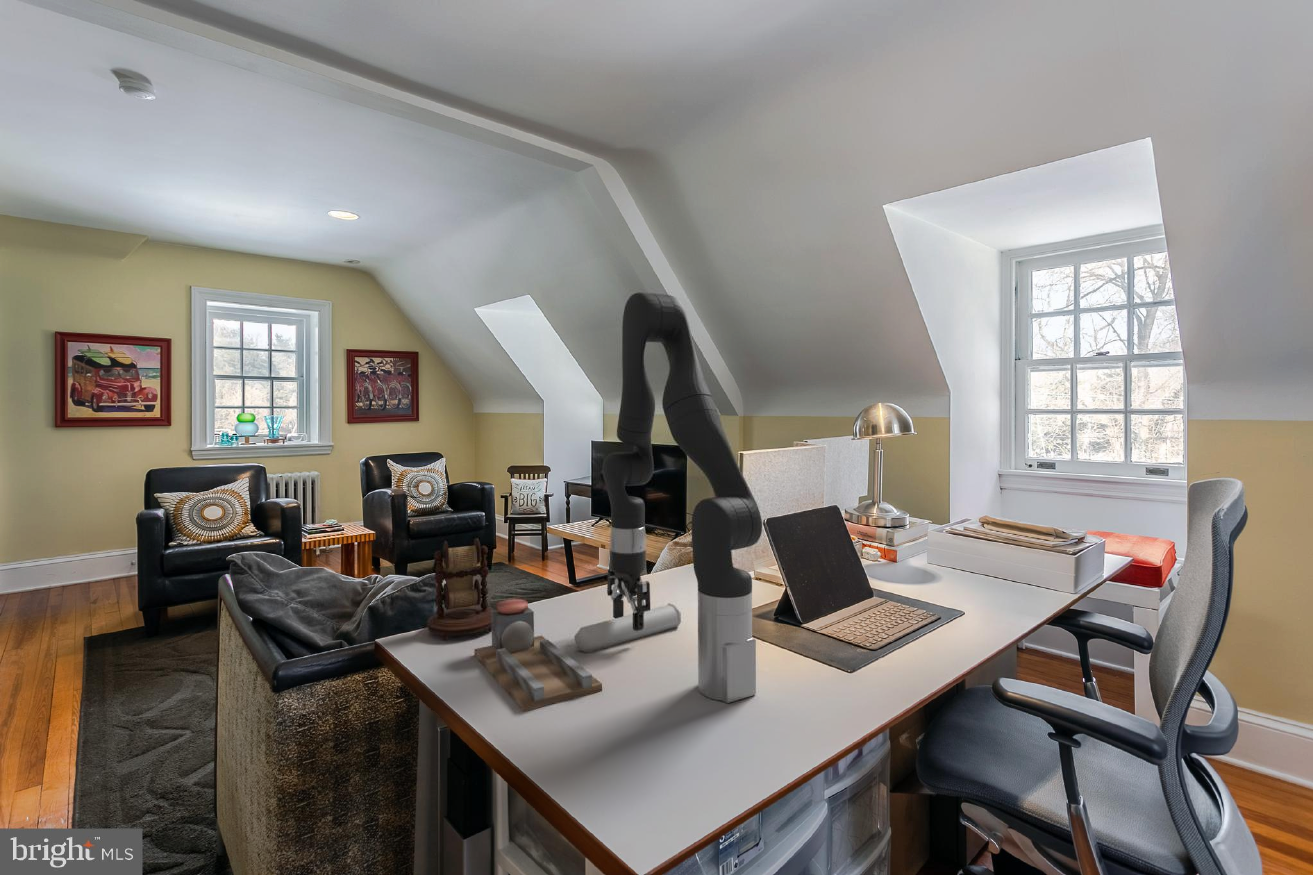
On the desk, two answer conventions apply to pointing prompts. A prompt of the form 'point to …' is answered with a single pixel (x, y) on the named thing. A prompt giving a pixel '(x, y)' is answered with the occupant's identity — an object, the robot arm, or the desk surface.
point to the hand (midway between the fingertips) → (627, 623)
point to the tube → (626, 628)
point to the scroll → (461, 592)
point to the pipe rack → (531, 660)
